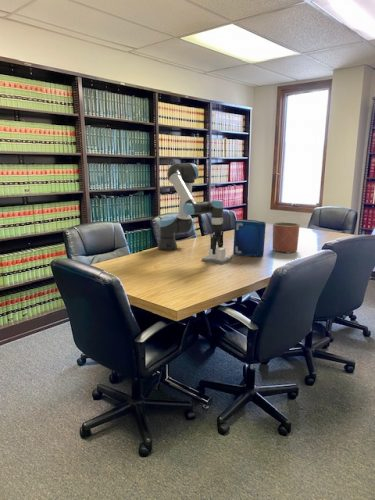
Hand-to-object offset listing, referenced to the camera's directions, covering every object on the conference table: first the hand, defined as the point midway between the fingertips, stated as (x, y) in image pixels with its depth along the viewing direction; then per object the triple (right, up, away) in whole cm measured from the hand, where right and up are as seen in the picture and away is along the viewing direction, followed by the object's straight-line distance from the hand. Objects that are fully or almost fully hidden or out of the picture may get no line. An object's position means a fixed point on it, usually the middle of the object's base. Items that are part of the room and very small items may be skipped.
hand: (216, 257), depth 247 cm
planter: (+53, +5, +28) cm, 60 cm away
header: (0, -2, +1) cm, 2 cm away
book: (+24, +1, +14) cm, 28 cm away
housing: (0, 0, 0) cm, 0 cm away
